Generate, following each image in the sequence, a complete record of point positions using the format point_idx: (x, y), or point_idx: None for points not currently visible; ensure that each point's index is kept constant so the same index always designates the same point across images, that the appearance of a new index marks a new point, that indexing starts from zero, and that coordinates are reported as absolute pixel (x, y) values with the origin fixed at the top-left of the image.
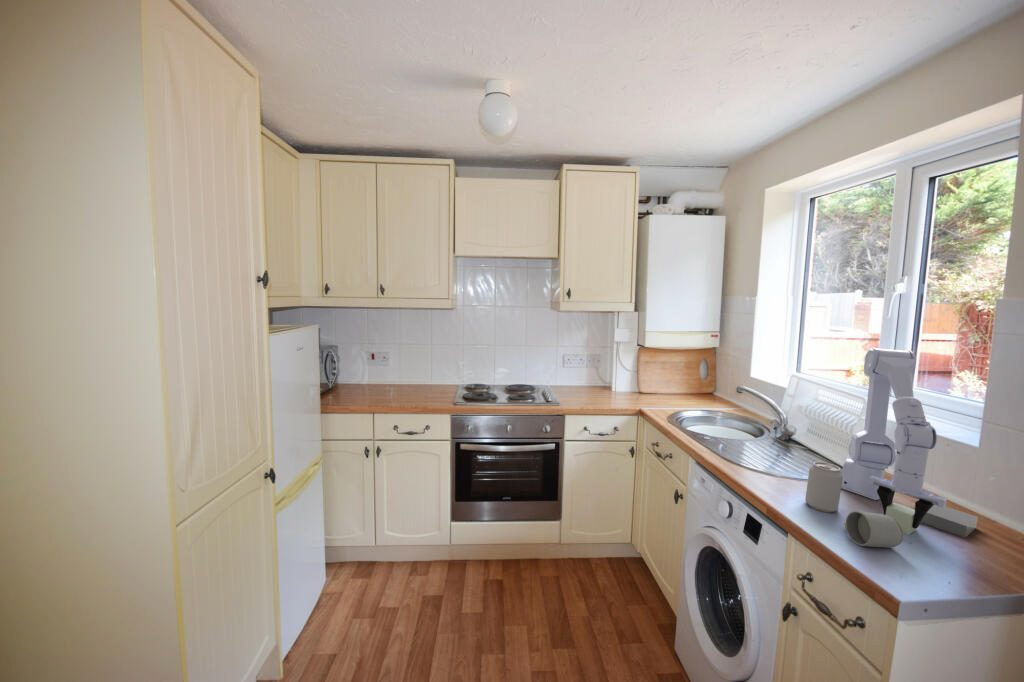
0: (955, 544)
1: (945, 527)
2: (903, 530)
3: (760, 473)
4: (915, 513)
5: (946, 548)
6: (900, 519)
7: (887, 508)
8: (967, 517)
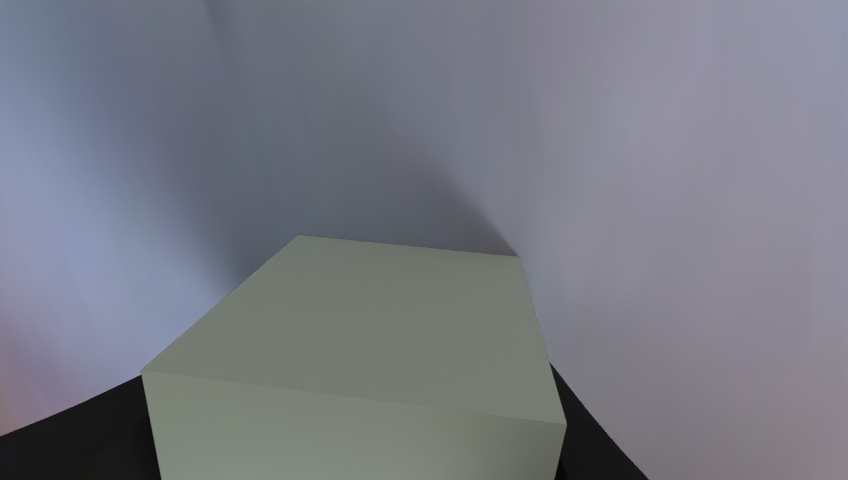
0: (51, 372)
1: None
2: (341, 246)
3: None
4: (90, 446)
5: (27, 215)
6: (352, 307)
7: (543, 392)
8: None
